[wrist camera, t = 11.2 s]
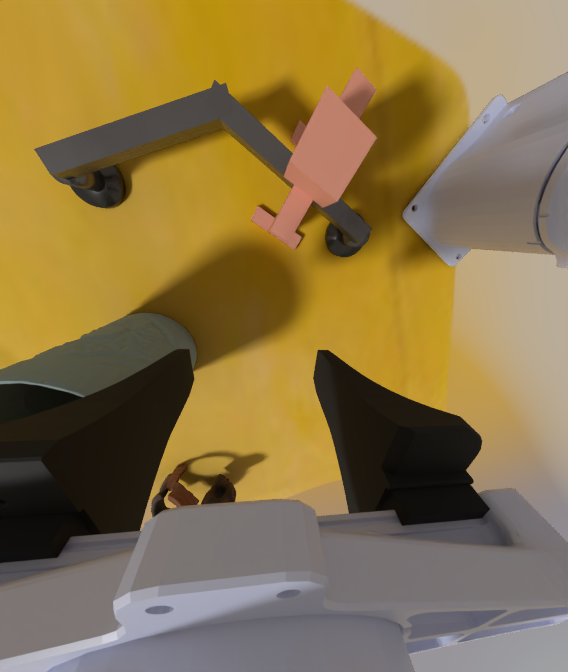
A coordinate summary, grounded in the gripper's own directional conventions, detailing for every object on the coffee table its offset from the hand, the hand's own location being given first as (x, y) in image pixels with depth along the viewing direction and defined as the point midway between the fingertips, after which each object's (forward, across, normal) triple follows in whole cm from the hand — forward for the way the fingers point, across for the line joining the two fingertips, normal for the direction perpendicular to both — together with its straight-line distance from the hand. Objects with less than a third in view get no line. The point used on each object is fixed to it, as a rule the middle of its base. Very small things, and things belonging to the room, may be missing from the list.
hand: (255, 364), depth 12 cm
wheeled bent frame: (+10, +2, -8) cm, 13 cm away
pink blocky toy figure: (+10, -3, -10) cm, 15 cm away
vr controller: (+11, +8, +29) cm, 32 cm away
